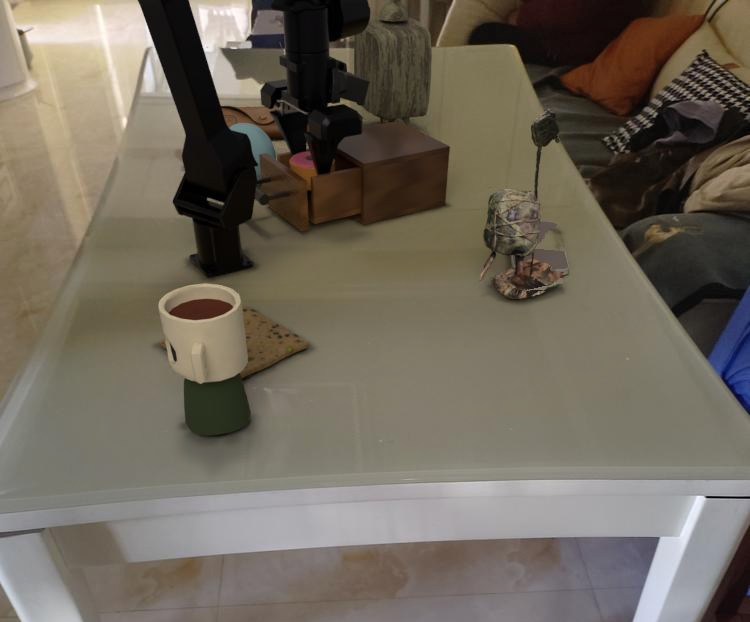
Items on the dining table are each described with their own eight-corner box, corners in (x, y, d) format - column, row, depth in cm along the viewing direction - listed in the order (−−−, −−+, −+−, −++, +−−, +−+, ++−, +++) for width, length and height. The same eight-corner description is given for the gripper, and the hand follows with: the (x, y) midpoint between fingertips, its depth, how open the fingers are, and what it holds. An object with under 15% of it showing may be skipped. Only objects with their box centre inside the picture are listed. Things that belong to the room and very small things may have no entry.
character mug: (190, 391, 77) (168, 273, 69) (259, 390, 78) (246, 272, 69) (174, 458, 69) (147, 334, 61) (251, 457, 70) (235, 333, 61)
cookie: (158, 345, 84) (156, 337, 83) (245, 308, 90) (244, 301, 89) (222, 389, 77) (221, 382, 77) (310, 347, 84) (310, 339, 83)
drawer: (270, 238, 103) (266, 188, 98) (233, 207, 110) (228, 159, 106) (383, 212, 110) (384, 164, 105) (341, 185, 117) (340, 139, 113)
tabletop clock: (427, 143, 135) (437, -24, 118) (380, 149, 133) (383, -21, 116) (396, 120, 145) (401, -38, 128) (352, 124, 142) (351, -36, 125)
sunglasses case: (214, 139, 133) (210, 98, 132) (217, 149, 140) (214, 110, 139) (315, 137, 135) (312, 97, 134) (314, 147, 142) (311, 109, 140)
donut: (343, 185, 107) (343, 160, 105) (303, 193, 104) (302, 168, 102) (321, 171, 111) (320, 147, 109) (283, 178, 108) (281, 154, 106)
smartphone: (513, 267, 97) (505, 219, 108) (512, 274, 98) (505, 225, 109) (570, 270, 97) (557, 221, 108) (569, 276, 98) (556, 227, 108)
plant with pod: (469, 274, 98) (477, 109, 84) (554, 266, 98) (576, 101, 84) (482, 305, 92) (493, 134, 78) (572, 297, 92) (599, 125, 79)
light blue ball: (197, 119, 117) (273, 115, 116) (209, 177, 123) (281, 174, 122) (187, 134, 112) (266, 130, 111) (200, 194, 118) (275, 191, 117)
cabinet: (363, 225, 109) (363, 163, 103) (318, 194, 117) (316, 135, 111) (445, 205, 114) (450, 146, 108) (396, 177, 123) (398, 120, 117)
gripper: (399, 57, 94) (395, 184, 104) (326, 28, 105) (329, 145, 116) (321, 67, 89) (325, 199, 100) (254, 36, 101) (264, 157, 111)
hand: (312, 173), depth 107 cm, fingers closed on donut, 6 cm apart
